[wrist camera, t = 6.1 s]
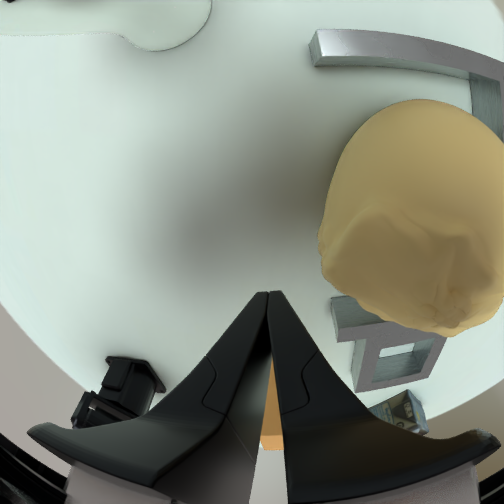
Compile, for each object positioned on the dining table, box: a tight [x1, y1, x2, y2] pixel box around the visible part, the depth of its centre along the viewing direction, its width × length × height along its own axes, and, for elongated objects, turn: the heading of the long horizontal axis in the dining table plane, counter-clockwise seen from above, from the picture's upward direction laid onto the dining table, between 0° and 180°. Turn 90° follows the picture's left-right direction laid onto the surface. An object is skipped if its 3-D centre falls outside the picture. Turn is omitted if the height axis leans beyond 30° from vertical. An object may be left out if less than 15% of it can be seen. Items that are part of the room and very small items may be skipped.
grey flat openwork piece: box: [309, 29, 504, 393], centre depth 17 cm, size 29×14×4 cm, turn 9°
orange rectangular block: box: [260, 359, 284, 450], centre depth 22 cm, size 4×4×9 cm
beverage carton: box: [368, 390, 429, 435], centre depth 30 cm, size 8×19×7 cm, turn 134°
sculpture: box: [317, 99, 504, 337], centre depth 12 cm, size 12×12×11 cm
